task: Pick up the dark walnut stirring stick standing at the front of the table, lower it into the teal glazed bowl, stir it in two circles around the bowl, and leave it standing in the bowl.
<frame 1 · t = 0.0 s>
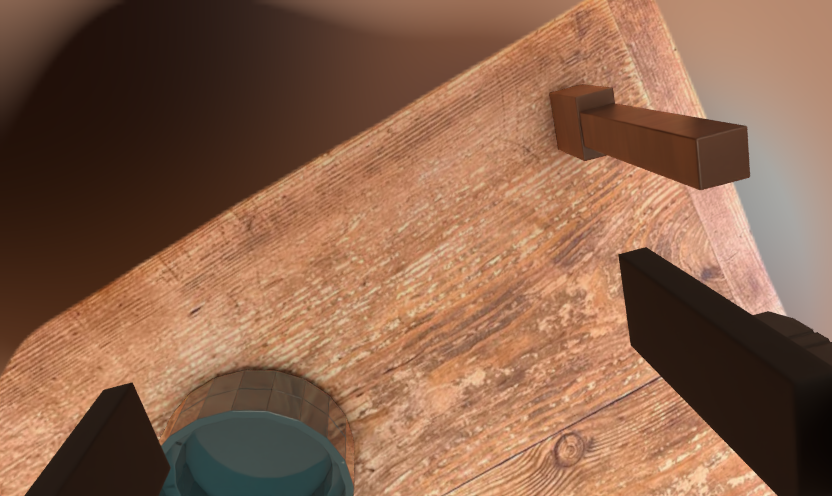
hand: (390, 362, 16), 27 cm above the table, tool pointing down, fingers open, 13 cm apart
stirring stick: (570, 117, 41), on the table
bowl: (261, 447, 47), on the table
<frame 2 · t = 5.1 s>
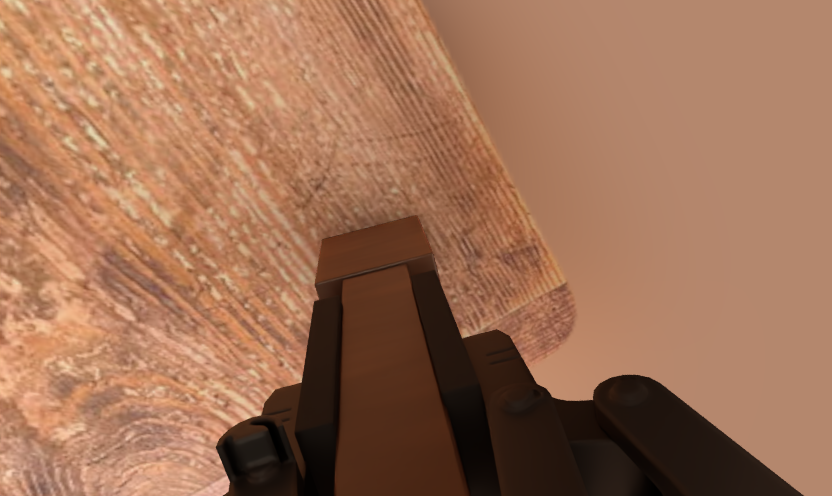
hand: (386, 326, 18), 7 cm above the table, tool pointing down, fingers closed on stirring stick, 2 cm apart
stirring stick: (376, 254, 25), on the table, touching gripper
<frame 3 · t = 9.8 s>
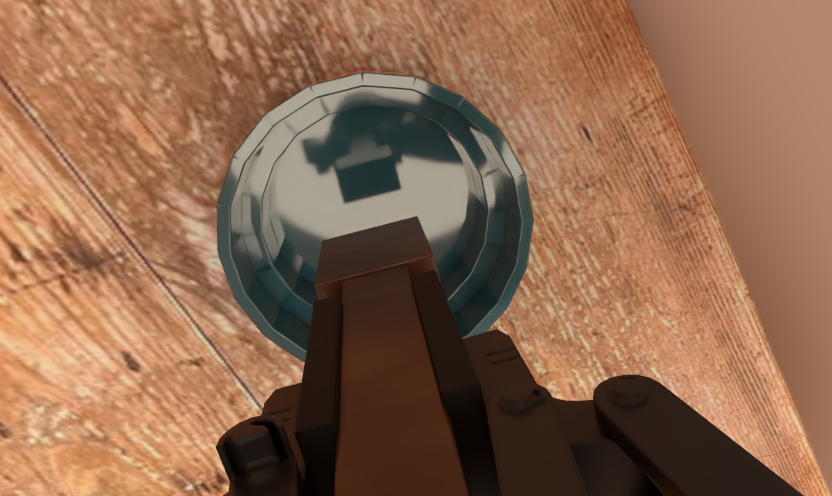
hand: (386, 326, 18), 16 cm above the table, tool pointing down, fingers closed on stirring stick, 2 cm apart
stirring stick: (377, 255, 25), point 9 cm above the table, touching gripper
bowl: (374, 205, 33), on the table
when the fingers open (8 cm above the table, at t = 14.9 s): stirring stick stays where it is, resting on bowl.
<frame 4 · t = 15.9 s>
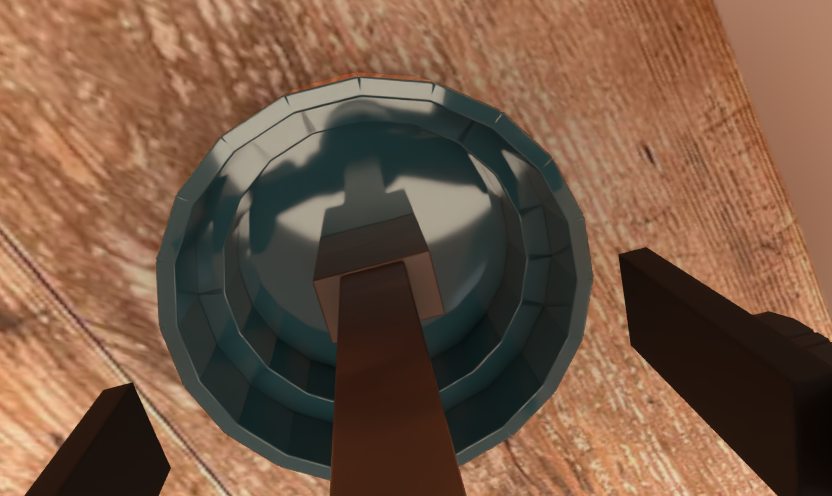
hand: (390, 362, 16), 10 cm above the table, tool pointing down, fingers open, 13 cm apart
stirring stick: (374, 252, 25), point 1 cm above the table, touching bowl
bowl: (375, 247, 25), on the table
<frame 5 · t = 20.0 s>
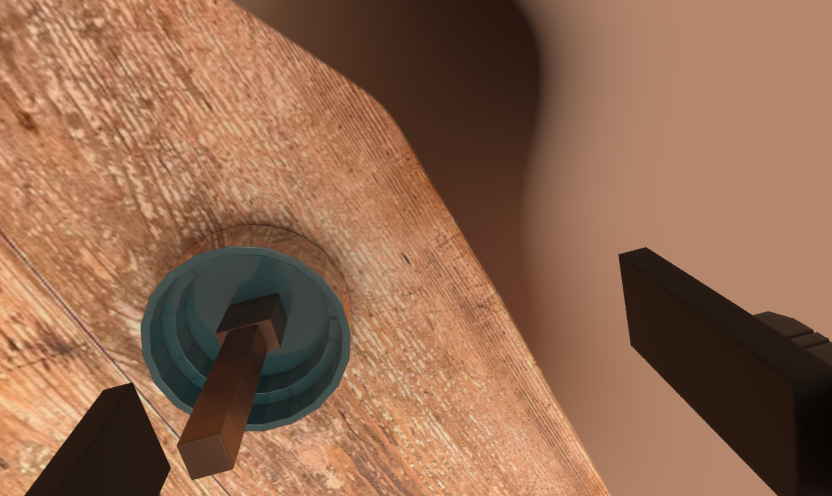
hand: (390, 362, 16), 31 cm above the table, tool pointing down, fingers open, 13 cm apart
stirring stick: (258, 312, 47), point 1 cm above the table, touching bowl
bowl: (260, 309, 48), on the table
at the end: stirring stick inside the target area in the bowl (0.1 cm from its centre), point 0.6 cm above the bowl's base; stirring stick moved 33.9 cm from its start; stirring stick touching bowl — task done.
